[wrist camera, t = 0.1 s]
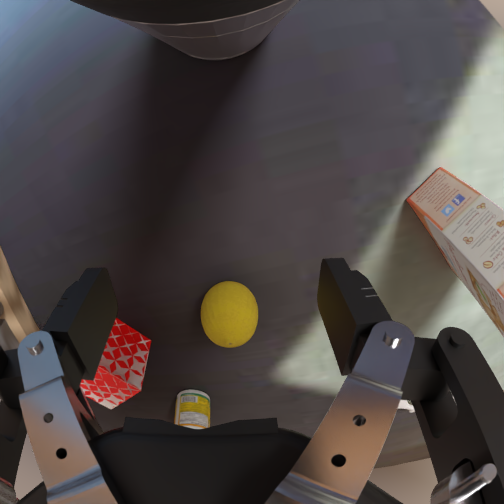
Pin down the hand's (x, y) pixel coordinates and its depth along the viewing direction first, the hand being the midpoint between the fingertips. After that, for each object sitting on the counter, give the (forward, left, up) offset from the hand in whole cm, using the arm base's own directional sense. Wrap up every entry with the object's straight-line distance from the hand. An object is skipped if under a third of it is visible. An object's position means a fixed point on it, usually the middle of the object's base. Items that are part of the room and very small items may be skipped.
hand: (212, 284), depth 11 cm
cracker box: (+7, +25, -17) cm, 31 cm away
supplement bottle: (+36, -7, -17) cm, 40 cm away
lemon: (+14, 0, -17) cm, 22 cm away
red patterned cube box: (+22, -16, -18) cm, 32 cm away
